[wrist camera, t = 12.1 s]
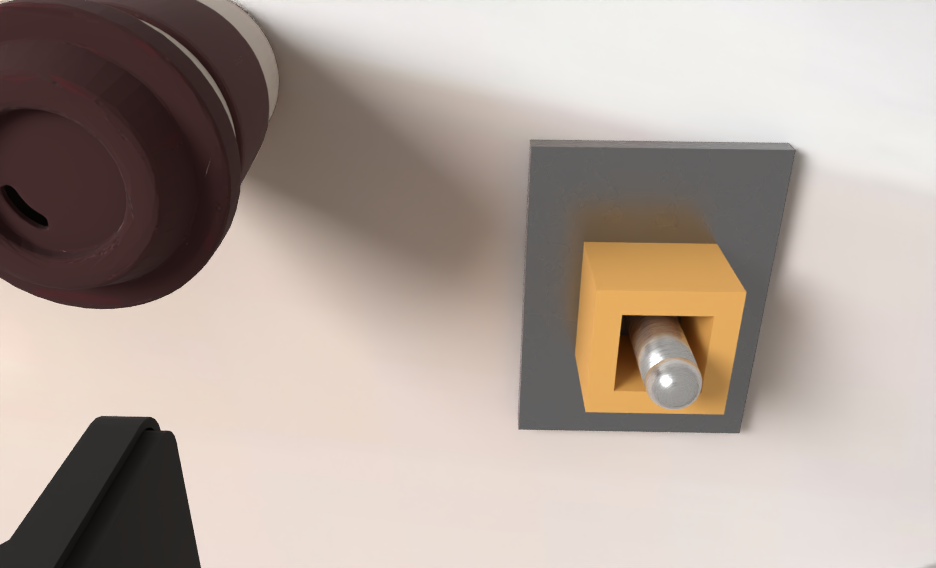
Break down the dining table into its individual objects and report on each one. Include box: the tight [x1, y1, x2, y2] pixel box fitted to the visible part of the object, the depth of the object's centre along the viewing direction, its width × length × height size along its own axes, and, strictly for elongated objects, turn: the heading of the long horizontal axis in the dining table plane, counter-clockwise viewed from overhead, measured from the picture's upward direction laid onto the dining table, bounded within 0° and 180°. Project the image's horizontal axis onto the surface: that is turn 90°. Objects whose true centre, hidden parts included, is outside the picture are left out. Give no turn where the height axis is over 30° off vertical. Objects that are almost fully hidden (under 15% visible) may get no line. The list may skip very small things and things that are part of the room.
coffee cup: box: [0, 0, 279, 309], centre depth 31 cm, size 10×10×15 cm
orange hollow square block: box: [575, 242, 747, 415], centre depth 39 cm, size 6×6×5 cm
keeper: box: [518, 140, 795, 433], centre depth 38 cm, size 16×12×9 cm
